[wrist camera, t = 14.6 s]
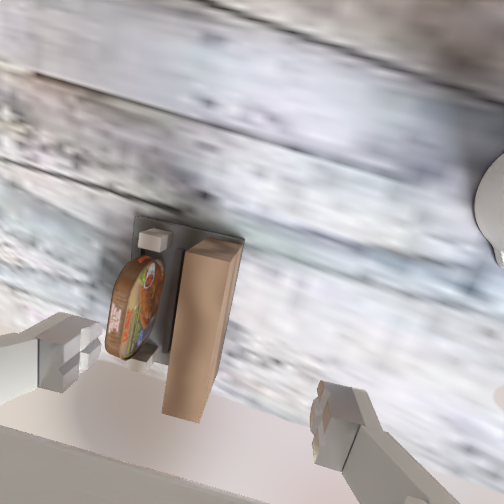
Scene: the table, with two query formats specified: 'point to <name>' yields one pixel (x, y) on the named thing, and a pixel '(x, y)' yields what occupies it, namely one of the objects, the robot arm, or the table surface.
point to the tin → (134, 306)
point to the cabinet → (187, 309)
